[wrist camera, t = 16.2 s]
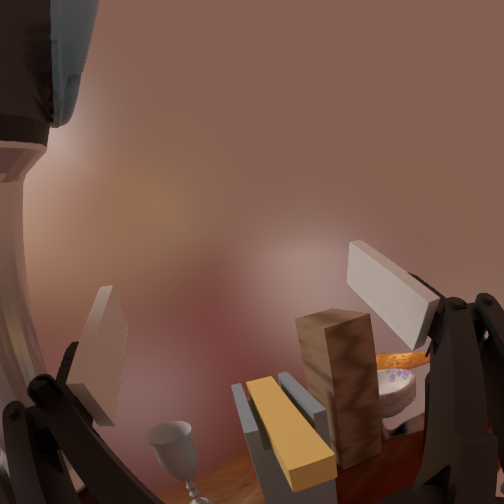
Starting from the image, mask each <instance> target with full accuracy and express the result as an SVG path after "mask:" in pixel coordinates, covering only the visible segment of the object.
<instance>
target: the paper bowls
mask: <svg viewBox="0 0 504 504" xmlns="http://www.w3.org/2000/svg"><path fill="white" fill-rule="evenodd" d="M377 374H378V385H379V399H380V416H381V419H383V418H389V417H392V416H395V415H397V414H399V413H400V412H401V411H403V410H404V408H405V407H406V406H408V405H409V404H410V403H411V402H412V401H413V400H414V399H415V396H416V377H415V375H414V374H413V373H412V372H411V371H409V370H405V369H384V370H379V371H377Z"/></svg>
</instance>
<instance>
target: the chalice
mask: <svg viewBox="0 0 504 504" xmlns="http://www.w3.org/2000/svg"><path fill="white" fill-rule="evenodd" d="M190 432H191V426H190V424H188V423H186V422H182V421H173V422H167V423H163V424H160V425H157V426H155V427H153V428H152V429H150V430H149V431H148V432H147V433H146V435H145V439H146V441H148V442H149V443H150V444H151V445H152V447H153V450H154V452H155V454H156V456H157V459H158V461H159V463H160V464H161V465H162V466H163V467H164V468H165V469H166V470H167V471H168V472H169V473H170V474H172V475H173V476H174V477H176V478H177V479H179V480H181V481H186V483H187V486H186V488H188V489H189V490H190V493H189V495H190V496H193V497H194V499H193V500H192V501H191V503H190V504H214V503H213V502H212V501H210V500H209V499H207V498H201V497H199V494H200V491H198V490H196V489H195V486H196V484H195V483H193V482H192V481H191V479H192V478H194V476H195V472H196V467H197V451H196V449H195V446H194V443H193V441H192V438H191V435H190Z"/></svg>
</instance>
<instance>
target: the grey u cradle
mask: <svg viewBox="0 0 504 504" xmlns="http://www.w3.org/2000/svg"><path fill="white" fill-rule="evenodd" d="M278 378H279V383H280V388H281V389H282V391H283V392H284V393H285V395H286V396H287V397H288V398H289V400H290V401H291V402H292V403H293V405H294V406H295V407H296V408H297V410H298V411H299V412H300V413H301V414H302V416H303V417H304V418H305V419H306V421H307V422H308V423H309V424H310V425H311V427H312V428H313V429H314V430H315V431H316V433H317V434H318V435H319V436H320V437H321V439H322V440H323V441H324V442H325V443H326V444H327V446H328V447H329V448H330V449H331V450H332V448H331V441H330V433H329V426H328V419H327V412H326V409H325V408H324V407H323V406H322V405H321V404H320V403H319V402H318V401H317V400H316V399H315V398H313V397H312V396H311V395H310V394H309V393H308V392H307V391H306V390H305V389H304V388H303V387H302V386H301V385H300V384H299V383H298V382H297V381H296V380H295V379H294V378H293V377H292V376H291V375H290V374H289V373H288V372H287V371H286V372H282V373H279V374H278ZM231 387H232V390H233V394H234V398H235V402H236V406H237V409H238V413H239V417H240V420H241V424H242V427H243V431H244V434H245V438H246V441H247V445H248V448H249V452H250V455H251V458H252V461H253V465H254V468H255V471H256V474H257V477H258V481H259V484H260V487H261V490H262V493H263V496H264V499H265V502H266V504H338V503H337V493H336V483H335V478H334V479H331V480H329V481H326V482H323V483H321V484H318V485H315V486H312V487H309V488H306V489H303V490H300V491H297V492H294V493H293V491H292V489H291V487H290V485H289V483H288V480H287V478H286V476H285V474H284V472H283V470H282V468H281V466H280V464H279V462H278V460H277V458H276V455H275V453H274V451H273V449H272V447H271V445H270V442H269V440H268V438H267V436H266V434H265V431H264V429H263V427H262V425H261V422H260V420H259V418H258V415H257V413H256V411H255V409H254V406H253V404H252V402H251V399H250V398H248V399H246V396H245V394H244V391H243V388H242V386H241V383H239V384H234V385H231Z"/></svg>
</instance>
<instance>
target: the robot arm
mask: <svg viewBox="0 0 504 504" xmlns="http://www.w3.org/2000/svg"><path fill="white" fill-rule="evenodd" d="M98 4H99V0H0V448H1V451H0V504H165V503H164V502H162V501H161V500H160V499H159V498H158V497H157V496H156V495H155V494H153V493H152V492H151V491H150V490H149V489H148V488H147V487H146V486H145V485H144V484H143V483H142V482H141V481H140V480H139V479H138V478H137V477H136V476H135V475H134V474H133V473H132V472H131V471H130V470H129V469H128V468H127V467H126V466H125V465H124V464H123V462H122V461H121V460H120V459H119V458H118V457H117V456H116V455H115V453H114V452H113V451H112V450H111V449H110V448H109V446H108V445H107V444H106V443H105V442H104V440H103V439H102V438H101V437H100V435H99V434H98V433H97V432H96V430H95V429H94V428H93V427H92V423H93V419H94V420H95V421H96V423H97V424H98V425H99V426H116V418H117V407H118V397H119V388H120V380H121V372H122V364H123V358H124V352H125V346H126V339H127V334H128V328H129V326H128V324H127V321H126V319H125V316H124V313H123V311H122V309H121V306H120V303H119V301H118V297H117V295H116V292H115V289H114V286H113V285H110V286H105V287H100V290H99V292H98V294H97V296H96V299H95V301H94V303H93V306H92V308H91V311H90V314H89V316H88V319H87V321H86V324H85V327H84V329H83V332H82V335H81V338H80V341H78V342H72V343H71V344H70V345H69V347H68V348H67V349H66V352H65V354H64V357H63V360H62V363H61V367H60V368H59V371H58V374H57V377H56V380H54V378H52V376H51V375H49V374H48V372H47V369H46V365H45V362H44V359H43V355H42V352H41V348H40V344H39V340H38V336H37V332H36V328H35V323H34V318H33V314H32V308H31V303H30V297H29V291H28V284H27V276H26V267H25V257H24V244H23V221H22V206H23V205H22V204H23V203H22V202H23V200H22V199H23V182H24V179H25V176H26V174H27V172H28V171H29V170H30V169H31V168H32V167H33V166H34V165H35V163H36V162H37V161H38V160H39V159H40V158H41V157H42V156H43V155H44V153H46V150H47V142H48V135H49V129H50V127H51V128H58V127H60V126H62V125H65V124H67V123H68V122H69V120H70V119H71V117H72V114H73V111H74V108H75V104H76V101H77V97H78V91H79V86H80V79H81V73H82V72H83V69H84V66H85V63H86V58H87V54H88V50H89V45H90V41H91V37H92V32H93V28H94V23H95V19H96V15H97V10H98ZM347 284H348V285H349V286H350V287H351V288H352V289H353V290H354V291H355V292H356V293H357V294H358V295H359V296H360V297H361V298H362V299H363V300H364V301H366V303H367V304H368V305H369V306H370V307H371V308H372V309H373V310H374V311H375V312H376V313H377V314H378V315H379V316H380V317H381V318H382V319H383V320H384V321H385V322H386V323H387V324H388V325H389V326H390V327H391V328H392V329H393V330H394V331H395V332H396V334H397V335H398V336H399V337H400V338H401V339H402V340H403V341H404V342H405V343H406V344H407V345H408V346H409V347H410V348H411V349H412V350H415V349H417V348H419V347H421V346H423V345H424V344H425V341H426V338H427V336H429V337H430V338H431V339H432V341H431V343H430V345H429V348H428V350H427V352H426V356H425V357H427V356H428V354H429V353H430V394H429V411H428V422H427V432H426V440H425V448H424V454H423V460H422V465H421V468H420V470H419V472H418V474H417V476H416V478H415V480H414V483H413V487H412V488H411V487H410V485H407V486H405V487H404V488H402V489H400V490H398V491H397V492H395V493H393V494H391V495H390V496H388V497H386V498H384V499H382V500H381V501H379V502H378V503H377V504H504V498H503V497H495V493H496V483H497V469H498V457H499V461H500V464H501V467H502V470H503V473H504V310H503V309H502V307H501V306H500V304H499V303H498V302H497V300H496V299H495V298H494V297H493V296H491V295H490V294H487V293H480V294H478V295H477V297H476V300H475V303H468V304H467V303H466V302H465V301H464V300H462V299H460V298H456V297H450V298H445V297H444V296H443V295H442V294H440V293H439V292H437V291H436V290H435V289H434V288H432V287H431V286H429V285H428V284H427V283H426V282H424V281H423V280H422V279H420V278H419V277H418V276H416V275H413V274H411V273H407V272H406V271H404V270H403V269H401V268H400V267H399V266H397V265H396V264H395V263H393V262H392V261H390V260H389V259H388V258H386V257H385V256H383V255H382V254H380V253H379V252H378V251H376V250H375V249H373V248H372V247H370V246H369V245H367V244H366V243H364V242H363V241H362V240H357V241H353V242H350V248H349V262H348V274H347ZM486 331H488V334H489V336H488V338H487V339H485V337H484V335H485V333H486ZM487 413H488V416H489V420H490V423H491V427H492V431H493V434H490V433H489V432H488V416H487ZM501 492H502V493H503V494H504V482H503V483H502V485H501Z"/></svg>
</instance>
